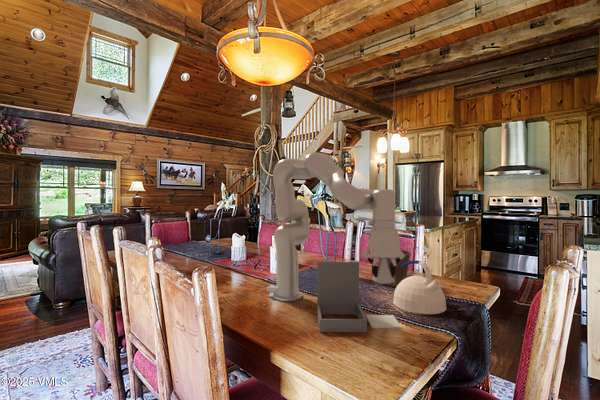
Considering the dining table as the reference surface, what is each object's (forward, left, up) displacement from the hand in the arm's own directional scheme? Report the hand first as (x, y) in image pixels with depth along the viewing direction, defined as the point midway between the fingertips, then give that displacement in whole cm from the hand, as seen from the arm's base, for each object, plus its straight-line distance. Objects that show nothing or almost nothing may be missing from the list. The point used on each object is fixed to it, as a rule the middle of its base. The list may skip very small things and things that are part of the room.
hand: (383, 275), depth 109 cm
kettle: (+19, +17, -17) cm, 31 cm away
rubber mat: (0, 0, -17) cm, 17 cm away
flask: (0, 0, -2) cm, 2 cm away
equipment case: (-15, 0, -17) cm, 22 cm away
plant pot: (+17, +46, -17) cm, 52 cm away
